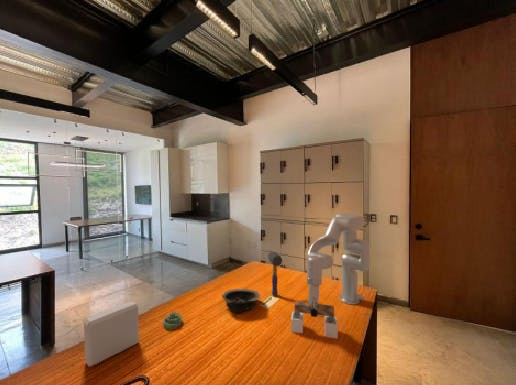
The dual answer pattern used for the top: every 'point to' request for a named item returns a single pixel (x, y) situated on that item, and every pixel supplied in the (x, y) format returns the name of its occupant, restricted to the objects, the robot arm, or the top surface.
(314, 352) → the top surface
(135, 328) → the bevelled white case
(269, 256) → the rubber mallet
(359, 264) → the robot arm
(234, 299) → the stone bowl
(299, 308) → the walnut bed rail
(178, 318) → the decorative artifact
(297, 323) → the twin hollow square sockets
